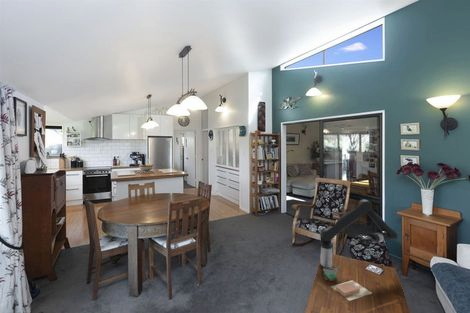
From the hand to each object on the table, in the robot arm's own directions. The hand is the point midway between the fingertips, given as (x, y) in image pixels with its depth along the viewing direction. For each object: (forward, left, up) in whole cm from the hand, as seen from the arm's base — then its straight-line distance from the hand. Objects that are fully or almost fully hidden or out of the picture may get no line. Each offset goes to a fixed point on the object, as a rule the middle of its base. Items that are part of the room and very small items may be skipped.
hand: (360, 240), depth 193 cm
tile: (+9, -15, -29) cm, 34 cm away
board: (+9, -19, -32) cm, 38 cm away
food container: (-7, -22, -32) cm, 39 cm away
